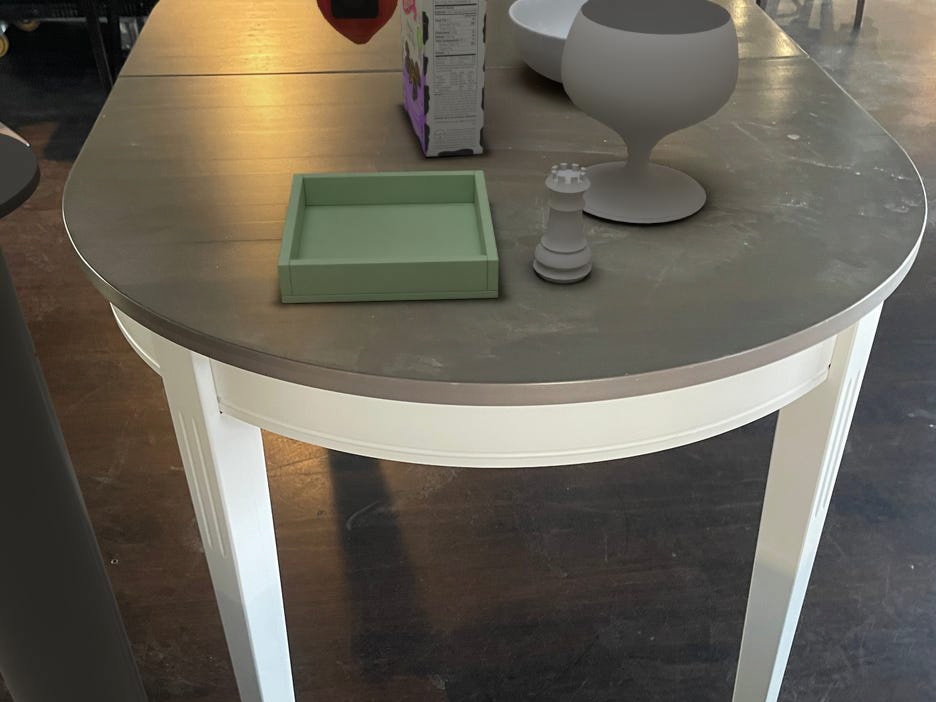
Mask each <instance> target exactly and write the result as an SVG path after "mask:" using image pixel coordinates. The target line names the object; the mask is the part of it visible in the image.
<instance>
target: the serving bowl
mask: <svg viewBox="0 0 936 702" xmlns="http://www.w3.org/2000/svg"><path fill="white" fill-rule="evenodd" d="M587 1H589V0H515V1H514V2H513V3H512V4H511V5H510V6H509V9H508V13H507V14H508V15H507V16H508V24H509V26H508V27H509V32H510V37H511V40H512V43H513V45H514V48H515V50H516V52H517V54H519V56H520V58H521V59H522V60H523V62H525V64H526V65H527V66H528V67H530V68H531V69H532V70H533V71H535V72H536V73H538V74H539V75H541V76H543V77H545V78H548V79H549V80H551V81H555V82H557V83H560V84H563V82H562V77H561V60H562V54H563V49H564V46H565V42H566V38H567V36H568V33H569V30H570V28H571V25H572V23H573V21H574V19H575V17H576V15H577V13H578V11H579V9H580V8H581V6H582V5H583V4H584V3H586V2H587Z"/></svg>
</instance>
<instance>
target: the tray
mask: <svg viewBox="0 0 936 702" xmlns="http://www.w3.org/2000/svg"><path fill="white" fill-rule="evenodd" d="M499 267H500V260H499V253H498V247H497V241H496V236H495V231H494V224H493V219H492V213H491V208H490V201H489V195H488V189H487V183H486V178H485V173H484V170H441V171H440V170H431V171H429V170H428V171H427V170H425V171H378V172H377V171H376V172H375V171H374V172H370V171H369V172H368V171H367V172H322V173H321V172H319V173H318V172H317V173H315V172H314V173H293V176H292V181H291V187H290V192H289V198H288V203H287V210H286V216H285V221H284V227H283V233H282V238H281V244H280V248H279V255H278V260H277V273H278V281H279V287H280V295H281V302H282V304H306V303H307V304H308V303H310V304H311V303H347V302H349V303H350V302H382V301H383V302H388V301H422V300H423V301H424V300H426V301H427V300H462V299H463V300H464V299H497V298H498V297H499V269H500V268H499Z"/></svg>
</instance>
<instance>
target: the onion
mask: <svg viewBox="0 0 936 702" xmlns="http://www.w3.org/2000/svg"><path fill="white" fill-rule="evenodd" d="M315 1H316V5H317V8H318V10H319V11H320V13H321V15H322V17H323V18H324V20H325V21H326V22H327V23H328V24H329V26H331V27H332V28H333V29H334V30H335V31H336V32H337V33H338V34H340V35H342V37H344V38H346V39H347V40H349V41H351V43H353V44H355V45H359V46H360V45H366V44H367V43H369V42H370V41H371V39H372V38H373V37H374V36H375V35H376V34H377V33H378V32H379V31H381V30H382V29H383V28H384V26H385V25H387V24H388V22H389V21H390V20H391V19H392V18H393V15H394V14H395V12H396V10H397V7H398V4H399V3H398V2H399V0H379V15H378V17H377V18H374V19H336V18H334V17H333V16H332V13H331V1H330V0H315Z"/></svg>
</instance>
